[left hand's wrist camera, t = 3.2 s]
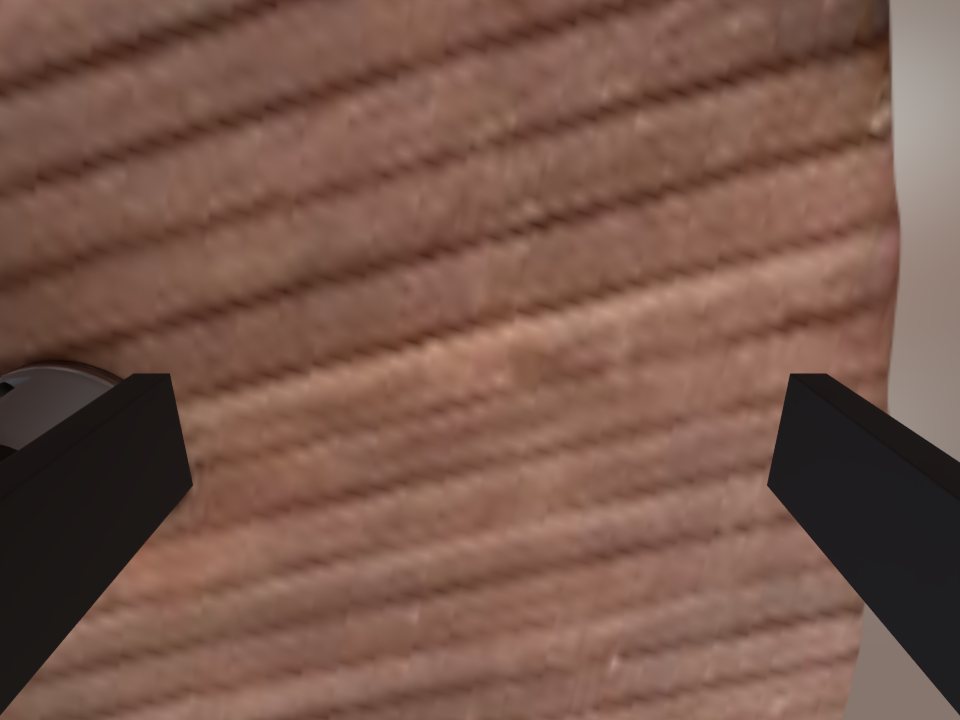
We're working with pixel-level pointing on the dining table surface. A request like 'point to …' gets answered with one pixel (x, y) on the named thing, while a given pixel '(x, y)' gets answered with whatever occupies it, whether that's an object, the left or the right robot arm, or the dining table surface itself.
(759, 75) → the dining table surface
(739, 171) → the dining table surface
